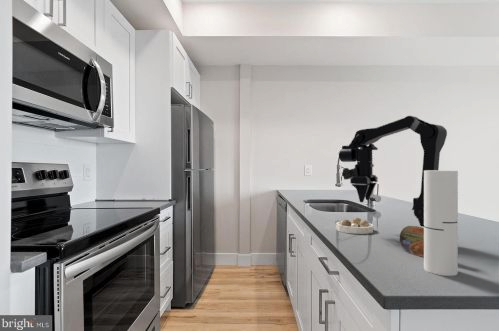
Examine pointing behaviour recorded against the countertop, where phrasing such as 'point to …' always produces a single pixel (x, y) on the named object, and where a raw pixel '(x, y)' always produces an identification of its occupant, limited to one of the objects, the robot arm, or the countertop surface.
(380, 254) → the countertop surface
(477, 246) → the countertop surface
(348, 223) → the walnut bead
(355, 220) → the oak bead
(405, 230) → the tin
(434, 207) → the cylindrical container
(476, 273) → the countertop surface
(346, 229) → the groove tray
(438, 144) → the robot arm
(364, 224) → the maple bead
